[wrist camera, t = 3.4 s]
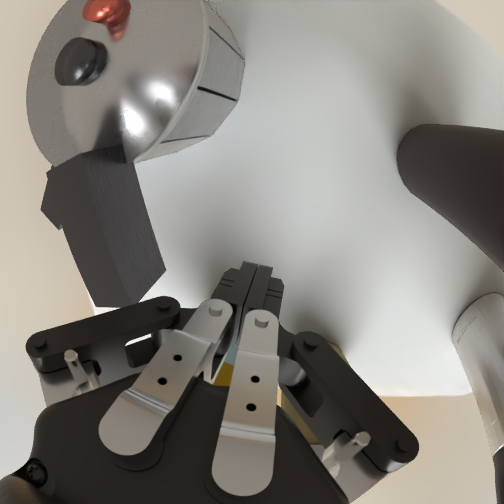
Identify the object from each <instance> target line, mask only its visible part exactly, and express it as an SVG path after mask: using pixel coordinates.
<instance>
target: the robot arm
mask: <svg viewBox="0 0 504 504" xmlns="http://www.w3.org/2000/svg"><path fill="white" fill-rule="evenodd" d="M272 269H273V267H268V266H264V265H259V266H258V264H254V263H250V262H246V261H244V262H243V264H242V266H241V268H240V270H237V269H233V268H231V269H229V270H228V271H226V272H225V273H224V275H223V276H222V279H221V280H220V282H219V284H218V286H217V287H216V289H215V291H214V293H213V295H212V297H211V298H210V299H209V300H206V301H204V302H202V303H201V304H200V306H199V307H198V308H192V309H190V308H180V304H179V302H178V301H177V300H176V299H174V298H172V297H168V296H160V297H156V298H153V299H149V300H146V301H143V302H139V303H136V304H133V305H129V306H126V307H123V308H119V309H116V310H113V311H109V312H106V313H103V314H99V315H96V316H92V317H89V318H86V319H83V320H79V321H75V322H72V323H68V324H65V325H62V326H58V327H55V328H51V329H47V330H44V331H40V332H37V333H35V334H33V335H32V336H31V337H30V338H29V339H28V340H27V343H26V351H27V353H28V355H29V356H30V358H31V360H32V362H33V365H34V367H35V369H36V371H37V372H38V374H39V377H40V382H41V386H42V390H43V394H44V398H45V402H46V406H47V408H45V409H44V410H43V411H42V412H41V414H40V415H39V417H38V419H37V421H36V424H35V429H34V441H33V447H32V452H31V455H30V458H29V460H28V461H27V463H26V464H25V465H24V466H23V467H21V468H20V469H18V470H17V471H15V472H14V473H12V474H10V475H8V476H6V477H4V478H3V479H1V480H0V504H350V503H351V502H353V501H354V500H356V499H357V498H358V497H360V496H361V495H362V494H364V493H365V492H366V491H368V490H369V489H370V488H371V487H373V486H374V485H375V484H376V483H378V482H379V481H380V480H382V479H383V478H385V477H387V476H388V475H390V474H392V473H394V472H395V471H397V470H398V469H400V468H402V467H403V466H405V465H406V464H408V463H409V462H411V461H412V460H414V459H415V457H416V456H417V454H418V451H419V443H418V440H417V438H416V437H415V435H414V434H413V433H412V432H411V431H410V430H409V429H408V428H407V427H406V426H405V425H404V424H403V423H402V421H401V420H400V419H399V418H398V417H397V416H396V415H395V414H394V413H393V412H392V411H391V410H390V409H389V408H388V407H387V406H386V405H385V403H384V402H383V401H382V400H381V399H380V398H379V397H378V396H377V395H376V394H375V393H374V392H373V391H372V390H371V389H370V387H369V386H368V385H367V384H366V383H365V382H364V381H363V380H362V379H361V378H360V377H359V376H358V375H357V374H356V373H355V371H354V370H353V369H352V368H351V367H350V366H349V365H348V364H347V363H346V362H345V361H344V360H343V359H342V358H341V356H340V355H339V354H338V353H337V352H336V351H335V350H334V349H333V348H332V347H331V346H330V345H329V344H328V342H327V341H326V340H325V339H324V338H323V337H322V336H320V335H318V334H316V333H314V332H309V331H305V332H300V333H298V334H297V335H294V334H292V333H290V332H288V331H286V330H285V329H284V328H283V327H282V326H281V325H280V323H279V313H280V307H281V301H282V296H283V290H284V285H283V283H282V280H281V279H277V278H273V277H271V274H272ZM148 334H151V337H150V338H147V339H144V340H142V341H139V342H136V343H133V344H130V345H127V346H125V345H126V343H127V342H129V341H131V340H133V339H136V338H139V337H142V336H145V335H148ZM238 338H239V339H238ZM237 341H238V345H239V349H238V352H237V356H236V361H235V366H234V370H233V375H232V379H231V384H230V386H218V385H213V383H214V381H215V379H216V377H217V375H218V373H219V370H220V368H221V366H222V364H223V362H224V360H225V358H226V355H227V351H228V349H229V347H230V344H235V345H236V343H237ZM452 342H453V344H454V347H455V349H456V351H457V353H458V356H459V358H460V360H461V363H462V365H463V368H464V370H465V373H466V375H467V378H468V380H469V383H470V385H471V388H472V391H473V393H474V396H475V399H476V401H477V404H478V408H479V410H480V414H481V416H482V420H483V423H484V427H485V430H486V434H487V437H488V441H489V445H490V449H491V452H492V457H493V462H494V467H495V485H496V495H497V504H504V297H503V296H502V295H501V294H497V293H491V294H488V295H485V296H483V297H481V298H479V299H478V300H476V301H475V302H474V303H472V304H471V305H470V306H469V307H468V308H467V309H466V310H465V311H464V313H463V314H462V315H461V317H460V318H459V319H458V321H457V323H456V325H455V327H454V330H453V334H452ZM278 384H279V387H280V389H281V390H282V392H283V393H284V394H285V396H286V397H287V399H288V400H289V401H290V403H291V404H292V406H293V407H294V408H295V410H296V411H297V412H298V414H299V415H300V417H301V418H302V419H303V421H304V422H305V423H306V425H307V426H308V427H309V429H310V430H311V431H312V433H313V434H314V435H315V436H316V438H317V439H318V440H319V442H320V443H321V444H322V446H323V447H324V448H325V449H326V450H325V451H324V453H323V458H322V459H323V463H322V461H321V460H320V459H319V457H318V456H317V454H316V453H315V451H314V450H313V449H312V447H311V446H310V444H309V443H308V441H307V440H306V438H305V437H304V435H303V434H302V433H301V431H300V430H299V428H298V427H297V425H296V424H295V422H294V421H293V419H292V418H291V417H290V416H289V414H288V413H287V412H286V411H284V410H283V409H282V408H281V407H279V406H278V405H276V403H277V389H278Z"/></svg>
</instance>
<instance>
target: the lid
mask: <svg viewBox="0 0 504 504" xmlns="http://www.w3.org/2000/svg"><path fill="white" fill-rule="evenodd" d="M208 48H209V23H208V16H207V13H206V9H205V6H204V4H203V2H202V0H68V1H67V2H66V3H65V5H63V7H62V8H61V9H60V10H59V11H58V13H57V14H56V15H55V17H54V18H53V19H52V21H51V22H50V24H49V25H48V27H47V29H46V30H45V32H44V34H43V36H42V38H41V40H40V42H39V44H38V46H37V49H36V51H35V54H34V57H33V60H32V63H31V67H30V71H29V76H28V84H27V96H26V104H27V115H28V121H29V125H30V129H31V132H32V135H33V137H34V140H35V142H36V144H37V146H38V148H39V150H40V151H41V153H42V154H43V155H44V157H45V158H46V159H47V160H48V161H49V162H50V163H51V164H52V165H53V166H54V168H53V169H51V170H49V171H48V172H47V173H46V174H47V178H48V182H49V186H50V189H51V193H52V196H53V200H54V203H55V207H56V210H57V213H58V216H59V219H60V222H61V225H62V228H63V231H64V234H65V236H66V239H67V242H68V244H69V247H70V250H71V252H72V255H73V257H74V260H75V262H76V264H77V267H78V269H79V271H80V274H81V276H82V278H83V281H84V283H85V285H86V287H87V289H88V291H89V294H90V296H91V298H92V300H93V302H94V304H95V306H96V307H115V308H123V307H126V306H129V305H133V304H136V303H138V302H139V301H140V300H141V299H142V297H143V296H144V295H145V294H146V293H147V292H148V291H149V289H150V288H151V287H152V286H153V285H154V284H155V283H156V281H157V280H158V279H159V278H160V277H161V276H162V275H163V274H164V272H165V271H166V268H165V265H164V262H163V259H162V257H161V254H160V251H159V248H158V245H157V242H156V239H155V235H154V232H153V229H152V226H151V223H150V220H149V216H148V213H147V210H146V206H145V203H144V199H143V196H142V192H141V189H140V185H139V181H138V178H137V174H136V170H135V166H134V163H135V162H137V161H138V160H140V159H141V158H143V157H145V156H146V155H147V154H148V153H149V152H151V151H152V150H153V149H154V148H156V147H157V146H158V145H159V144H160V143H161V142H162V141H163V140H164V139H165V138H166V137H167V135H168V134H169V133H170V132H171V130H172V129H173V128H174V127H175V126H176V124H177V123H178V122H179V120H180V118H181V117H182V115H183V114H184V112H185V111H186V109H187V108H188V106H189V104H190V102H191V100H192V98H193V96H194V94H195V93H196V90H197V87H198V85H199V83H200V80H201V78H202V75H203V71H204V68H205V64H206V61H207V54H208Z"/></svg>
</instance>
